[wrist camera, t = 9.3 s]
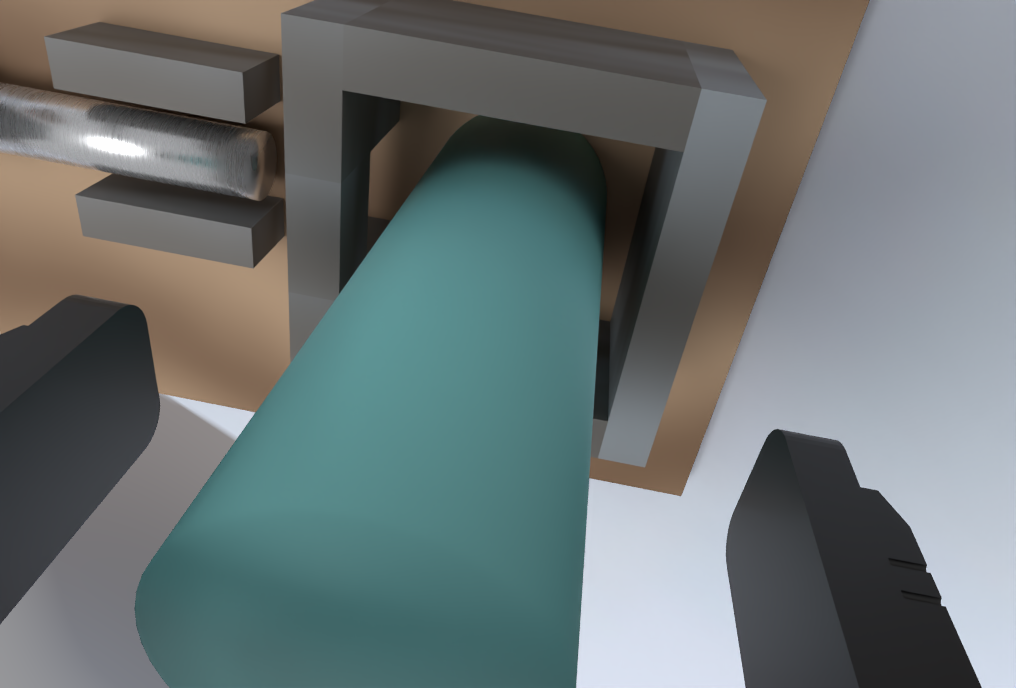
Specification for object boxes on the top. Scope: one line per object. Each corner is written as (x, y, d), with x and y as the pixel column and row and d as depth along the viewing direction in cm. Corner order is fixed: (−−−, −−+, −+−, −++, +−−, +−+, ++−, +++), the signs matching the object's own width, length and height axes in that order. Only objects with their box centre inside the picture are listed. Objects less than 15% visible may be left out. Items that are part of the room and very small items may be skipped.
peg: (441, 90, 16) (100, 463, 5) (625, 125, 15) (623, 574, 5) (425, 257, 18) (160, 743, 8) (586, 289, 18) (533, 828, 8)
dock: (-155, -366, 14) (-502, -477, 9) (921, -188, 13) (1068, -222, 9) (31, 345, 22) (-105, 452, 18) (678, 472, 22) (693, 613, 17)
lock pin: (-107, 45, 16) (-231, 74, 14) (275, 116, 16) (214, 156, 14) (-83, 125, 17) (-195, 164, 15) (278, 193, 17) (221, 243, 15)
